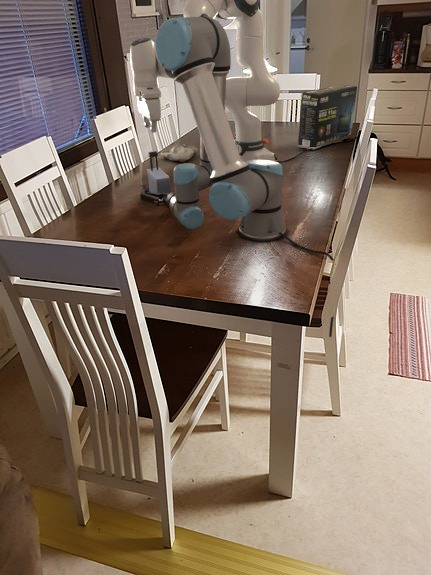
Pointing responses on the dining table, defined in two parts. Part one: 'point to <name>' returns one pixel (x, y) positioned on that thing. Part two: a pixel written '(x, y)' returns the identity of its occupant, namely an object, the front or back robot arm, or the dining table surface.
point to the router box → (326, 115)
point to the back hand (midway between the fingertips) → (150, 129)
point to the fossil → (179, 152)
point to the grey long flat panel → (156, 169)
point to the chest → (158, 186)
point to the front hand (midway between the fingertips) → (161, 186)
